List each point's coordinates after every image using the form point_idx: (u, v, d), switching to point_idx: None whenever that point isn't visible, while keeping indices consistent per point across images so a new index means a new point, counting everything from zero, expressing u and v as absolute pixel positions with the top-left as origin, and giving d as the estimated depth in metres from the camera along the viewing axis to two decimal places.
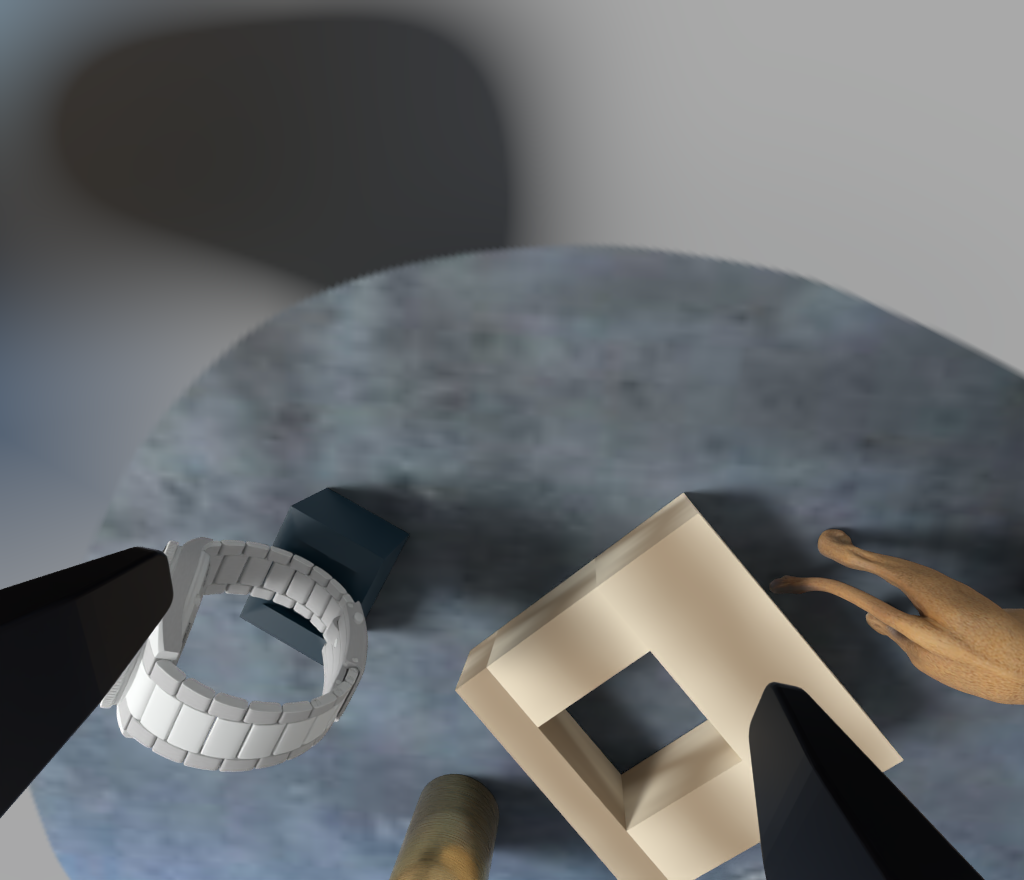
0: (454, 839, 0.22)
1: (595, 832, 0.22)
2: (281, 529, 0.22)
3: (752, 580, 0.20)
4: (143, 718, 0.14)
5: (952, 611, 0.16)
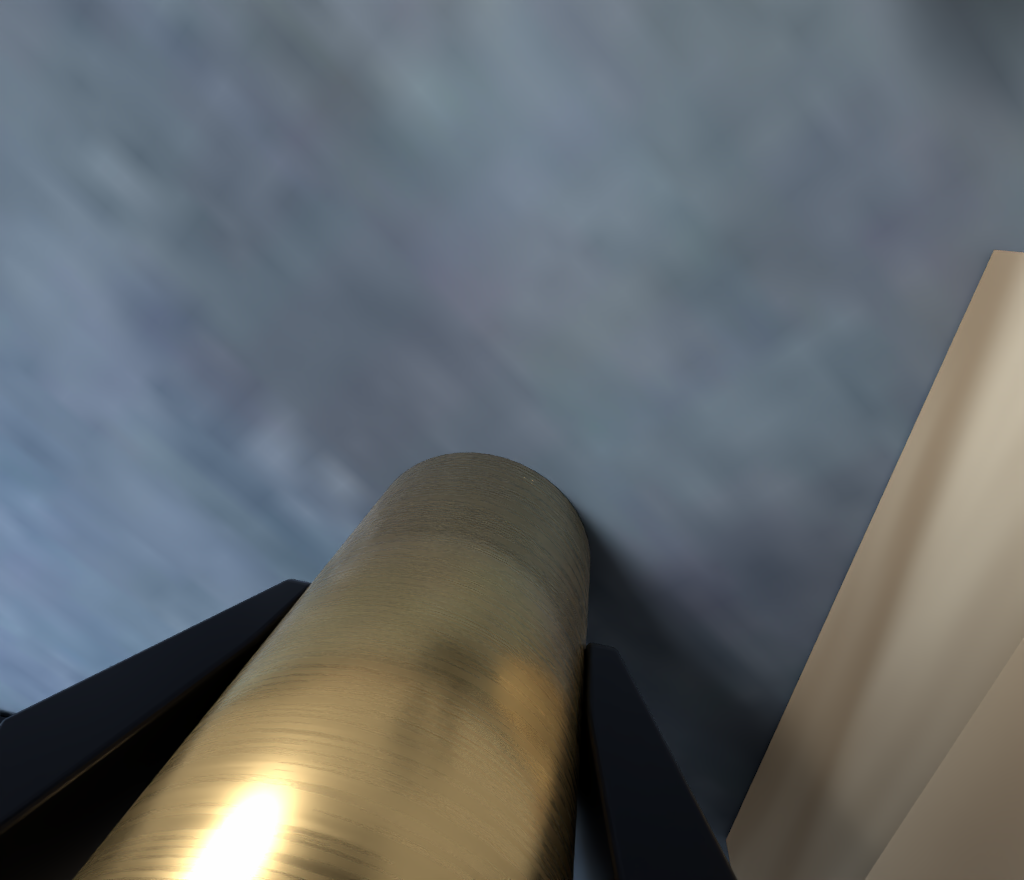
0: (567, 679, 0.06)
1: None
2: None
3: None
4: None
5: None
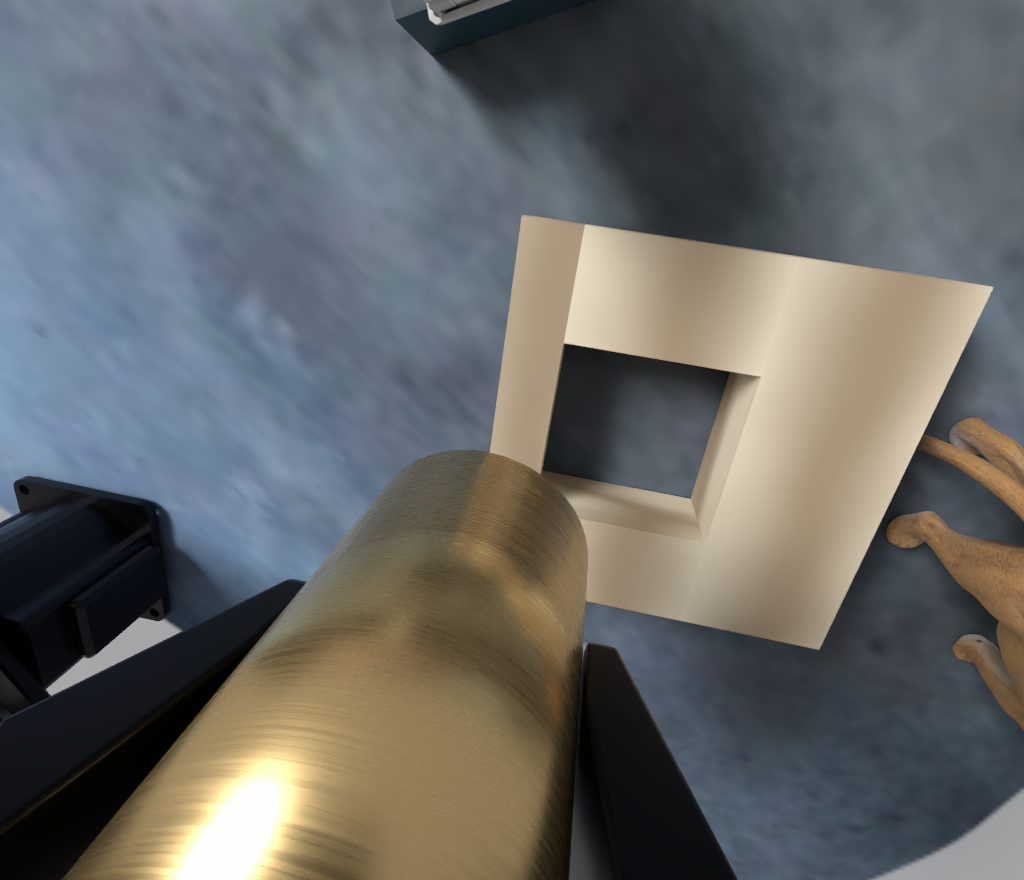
0: (563, 677, 0.06)
1: None
2: None
3: (933, 405, 0.15)
4: None
5: None
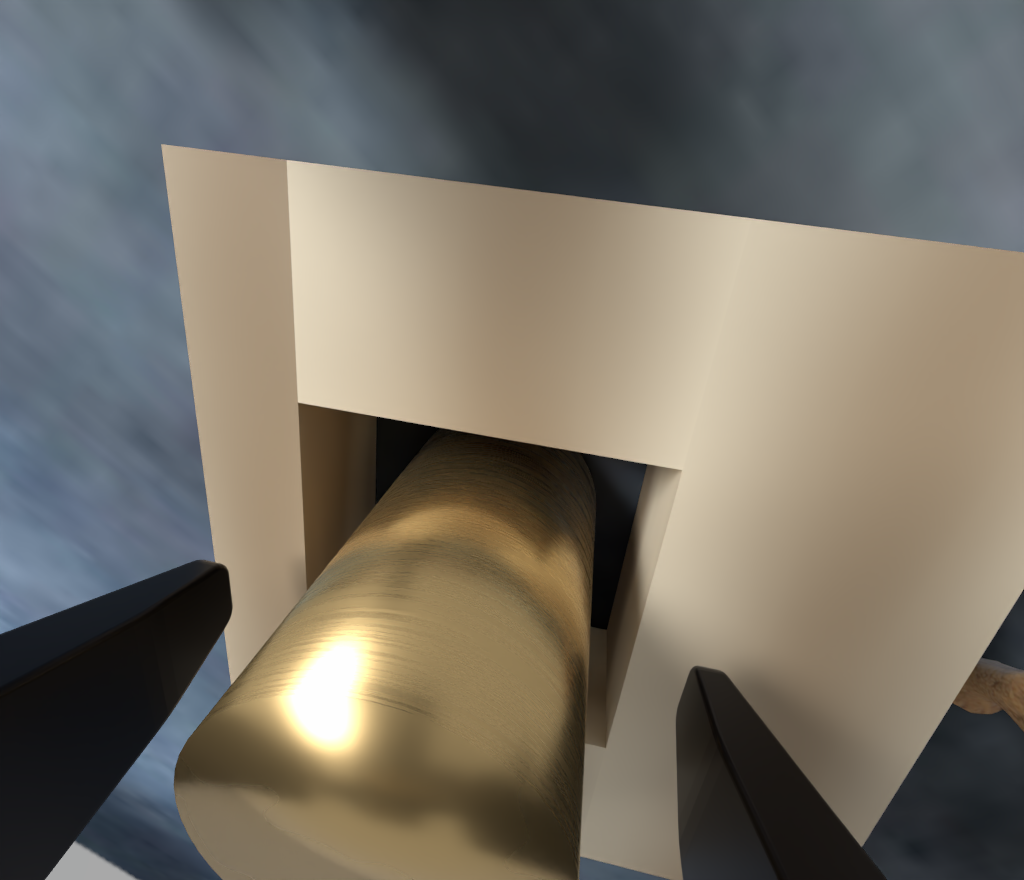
0: (580, 570, 0.08)
1: (255, 641, 0.10)
2: None
3: None
4: None
5: None
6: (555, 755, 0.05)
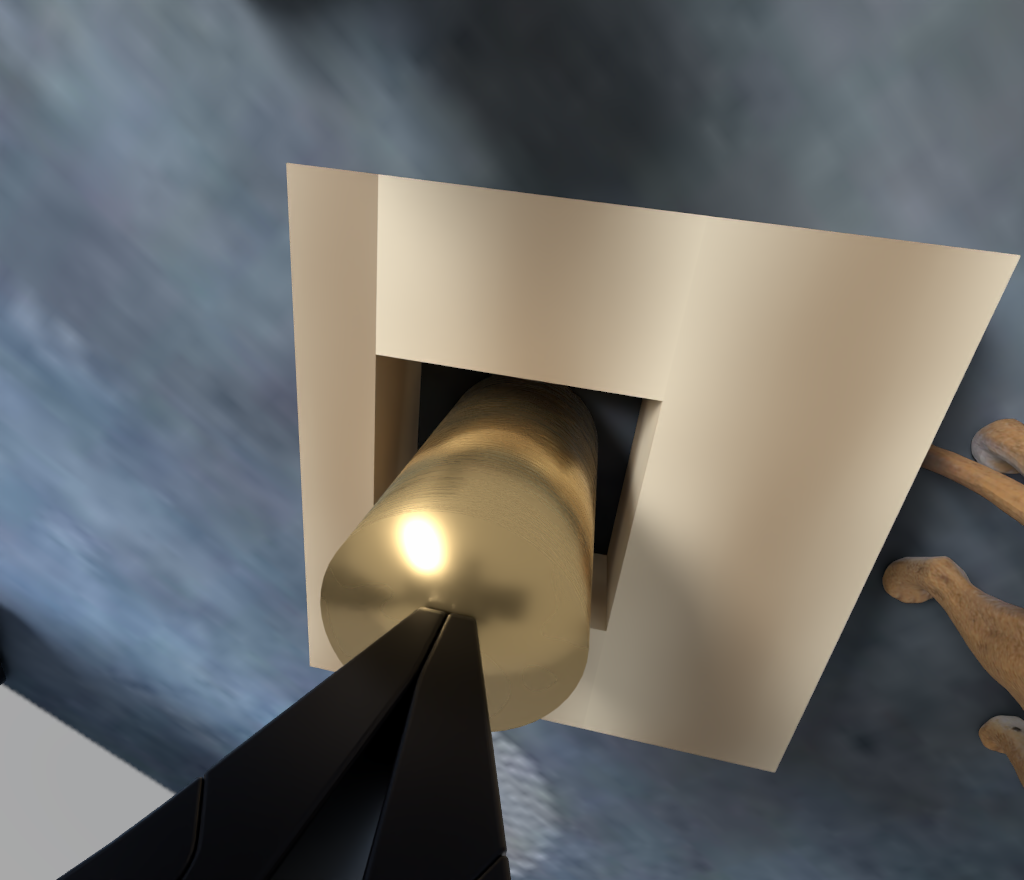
0: (587, 478, 0.10)
1: (328, 551, 0.13)
2: None
3: (926, 443, 0.10)
4: None
5: None
6: (574, 563, 0.08)
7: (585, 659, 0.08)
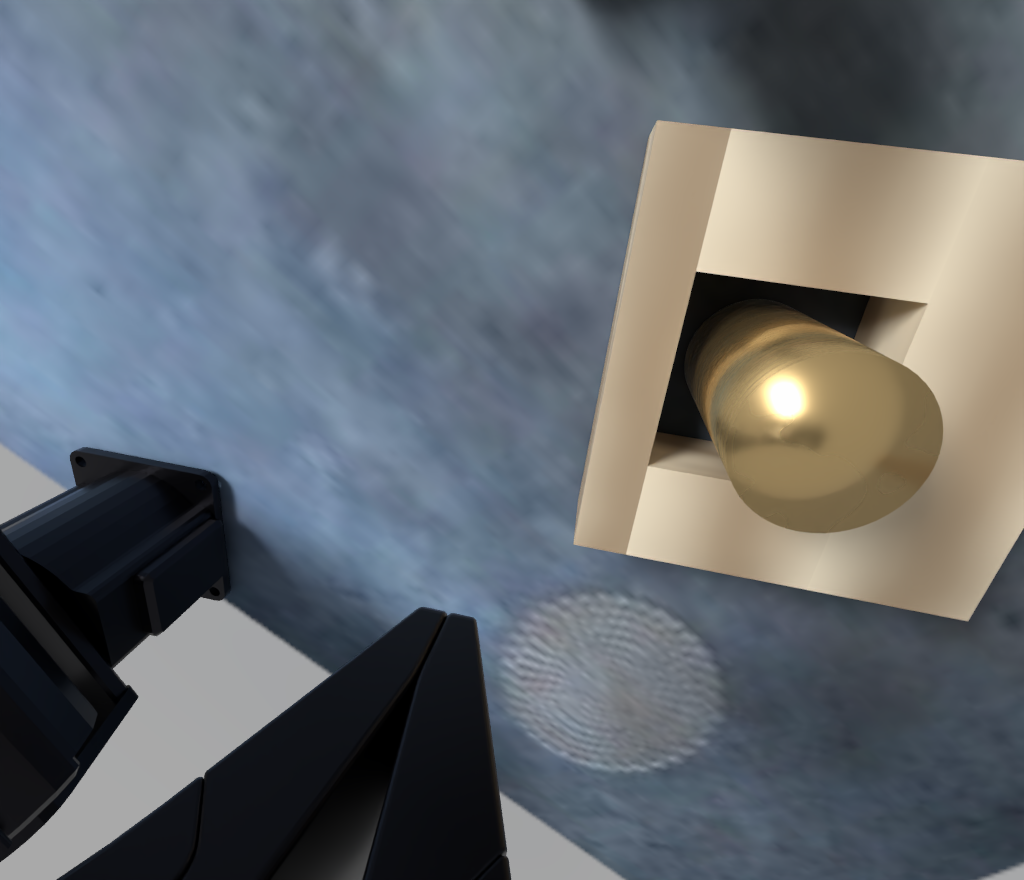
0: None
1: (615, 440, 0.16)
2: None
3: None
4: None
5: None
6: None
7: (932, 464, 0.11)
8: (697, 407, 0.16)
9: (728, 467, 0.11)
